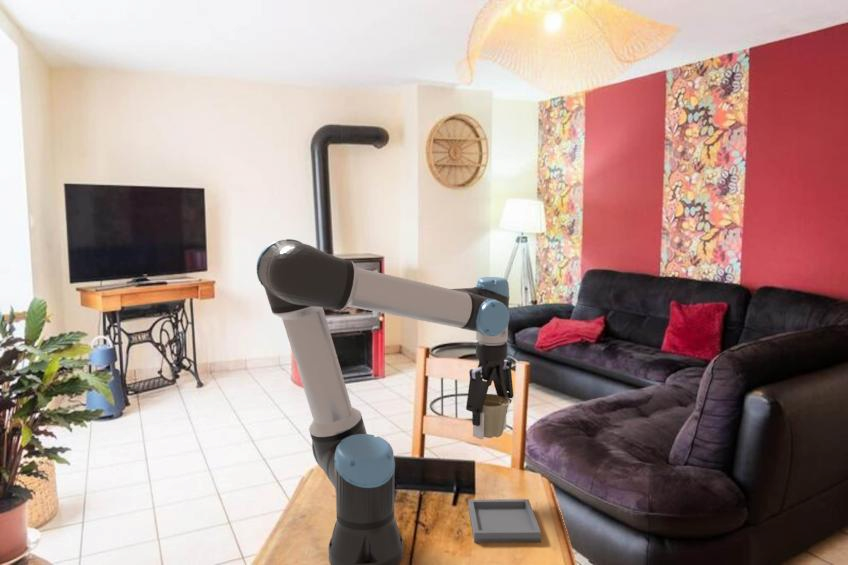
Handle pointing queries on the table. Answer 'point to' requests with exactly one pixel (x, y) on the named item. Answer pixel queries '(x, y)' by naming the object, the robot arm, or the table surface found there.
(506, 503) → the plant tray
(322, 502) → the table surface
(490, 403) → the flower pot
